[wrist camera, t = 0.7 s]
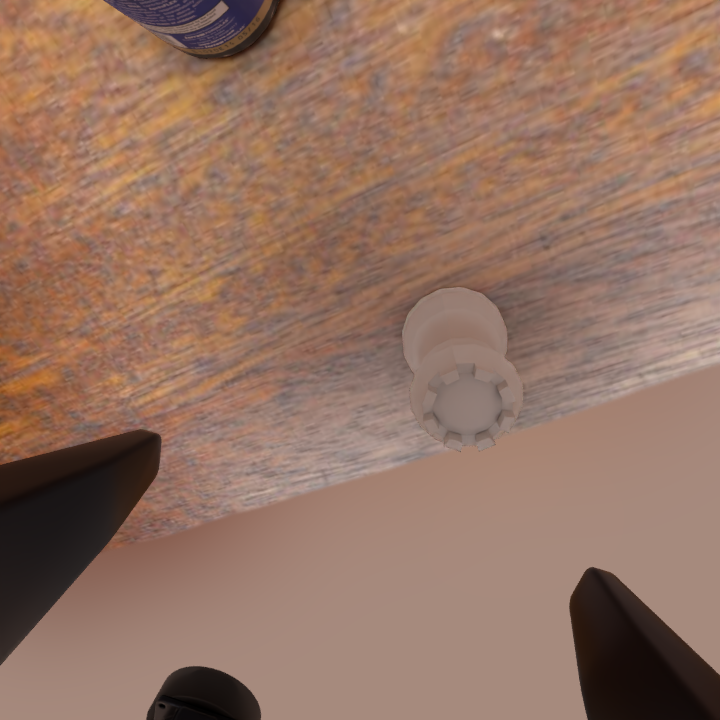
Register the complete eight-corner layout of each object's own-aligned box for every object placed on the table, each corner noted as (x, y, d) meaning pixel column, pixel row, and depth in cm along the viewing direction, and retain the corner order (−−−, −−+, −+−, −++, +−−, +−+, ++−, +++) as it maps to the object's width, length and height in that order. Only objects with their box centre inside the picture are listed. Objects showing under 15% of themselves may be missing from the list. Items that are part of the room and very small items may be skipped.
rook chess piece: (390, 301, 19) (366, 356, 12) (492, 271, 18) (537, 311, 11) (417, 391, 20) (411, 494, 13) (514, 368, 19) (569, 466, 12)
